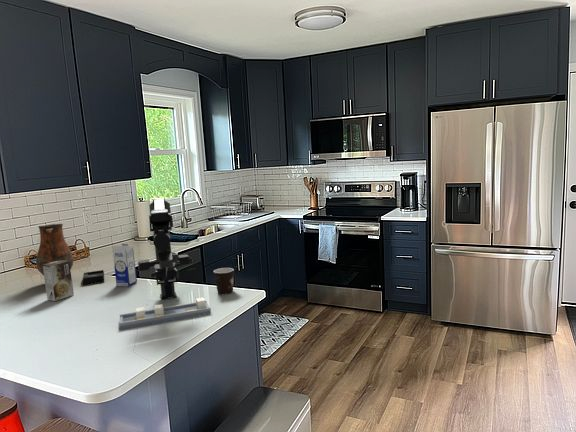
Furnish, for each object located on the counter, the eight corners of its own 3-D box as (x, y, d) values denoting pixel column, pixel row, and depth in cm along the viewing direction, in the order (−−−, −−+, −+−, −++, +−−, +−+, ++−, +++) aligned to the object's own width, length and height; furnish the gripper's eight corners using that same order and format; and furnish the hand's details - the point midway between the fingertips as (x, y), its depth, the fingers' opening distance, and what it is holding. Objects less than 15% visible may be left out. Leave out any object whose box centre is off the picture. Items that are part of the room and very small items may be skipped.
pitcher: (76, 276, 229) (69, 221, 225) (75, 286, 210) (67, 225, 206) (40, 281, 222) (33, 224, 218) (36, 292, 203) (28, 229, 199)
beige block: (136, 316, 158) (135, 308, 157) (145, 315, 159) (144, 306, 158) (136, 320, 154) (135, 311, 154) (145, 318, 155) (144, 310, 155)
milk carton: (116, 286, 205) (111, 245, 202) (124, 282, 211) (120, 242, 209) (129, 286, 203) (124, 245, 200) (137, 282, 210) (133, 242, 207)
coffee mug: (226, 288, 191) (224, 266, 190) (239, 291, 186) (237, 269, 184) (205, 296, 182) (203, 273, 181) (219, 299, 177) (217, 275, 175)
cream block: (196, 306, 165) (195, 298, 165) (204, 305, 166) (203, 297, 166) (198, 309, 162) (197, 301, 161) (206, 308, 163) (205, 300, 162)
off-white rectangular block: (154, 313, 160) (153, 305, 160) (163, 312, 161) (162, 304, 161) (155, 316, 156) (154, 308, 156) (163, 315, 157) (163, 307, 157)
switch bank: (120, 320, 159) (119, 314, 159) (206, 305, 170) (206, 300, 169) (119, 329, 150) (119, 323, 149) (211, 313, 160) (210, 307, 160)
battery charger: (104, 283, 213) (103, 275, 213) (83, 286, 210) (82, 278, 209) (104, 277, 225) (103, 269, 225) (84, 280, 222) (83, 272, 221)
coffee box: (66, 293, 198) (61, 259, 196) (74, 295, 194) (70, 260, 192) (46, 299, 190) (41, 264, 188) (54, 301, 187) (50, 265, 185)
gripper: (137, 251, 149) (142, 294, 152) (191, 244, 156) (194, 286, 159) (135, 245, 160) (140, 286, 162) (186, 239, 167) (189, 278, 169)
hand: (166, 284), depth 163 cm, fingers closed
